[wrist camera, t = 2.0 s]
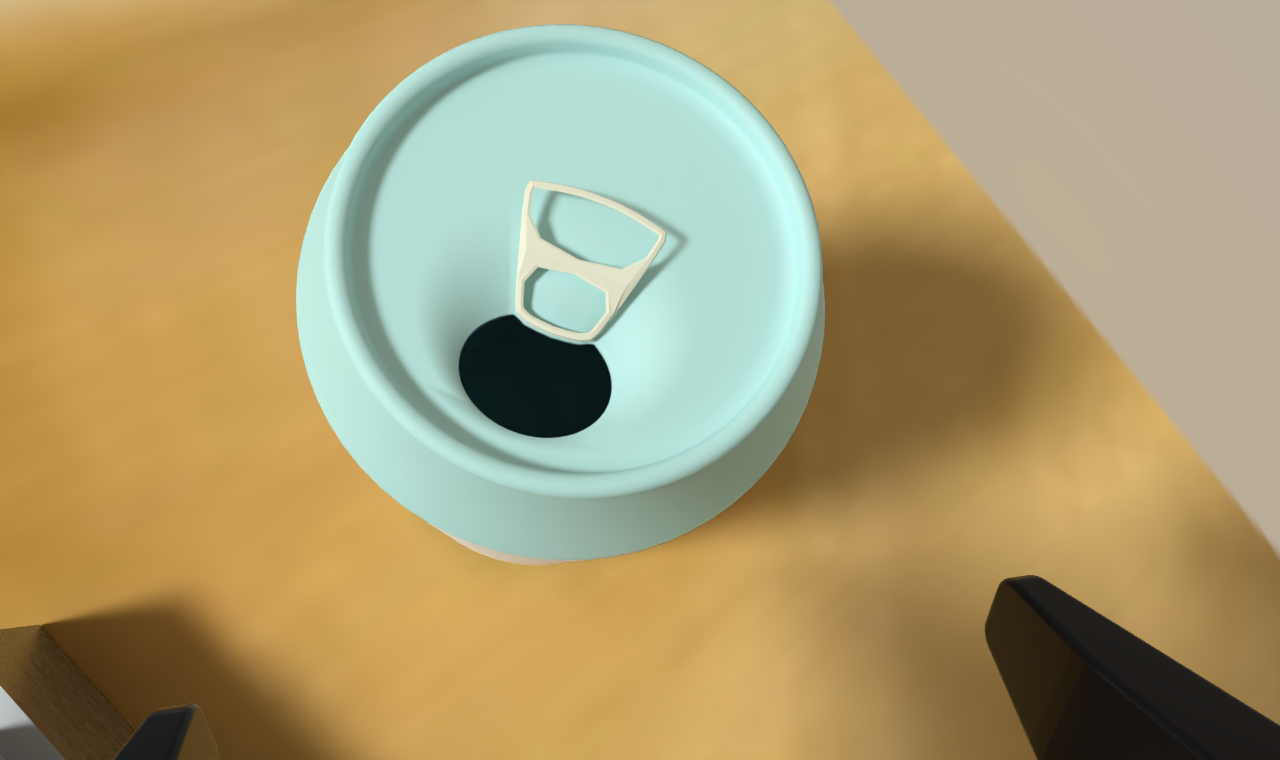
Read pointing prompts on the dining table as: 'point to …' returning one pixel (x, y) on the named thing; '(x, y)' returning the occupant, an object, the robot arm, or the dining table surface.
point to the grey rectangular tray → (51, 704)
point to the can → (563, 294)
